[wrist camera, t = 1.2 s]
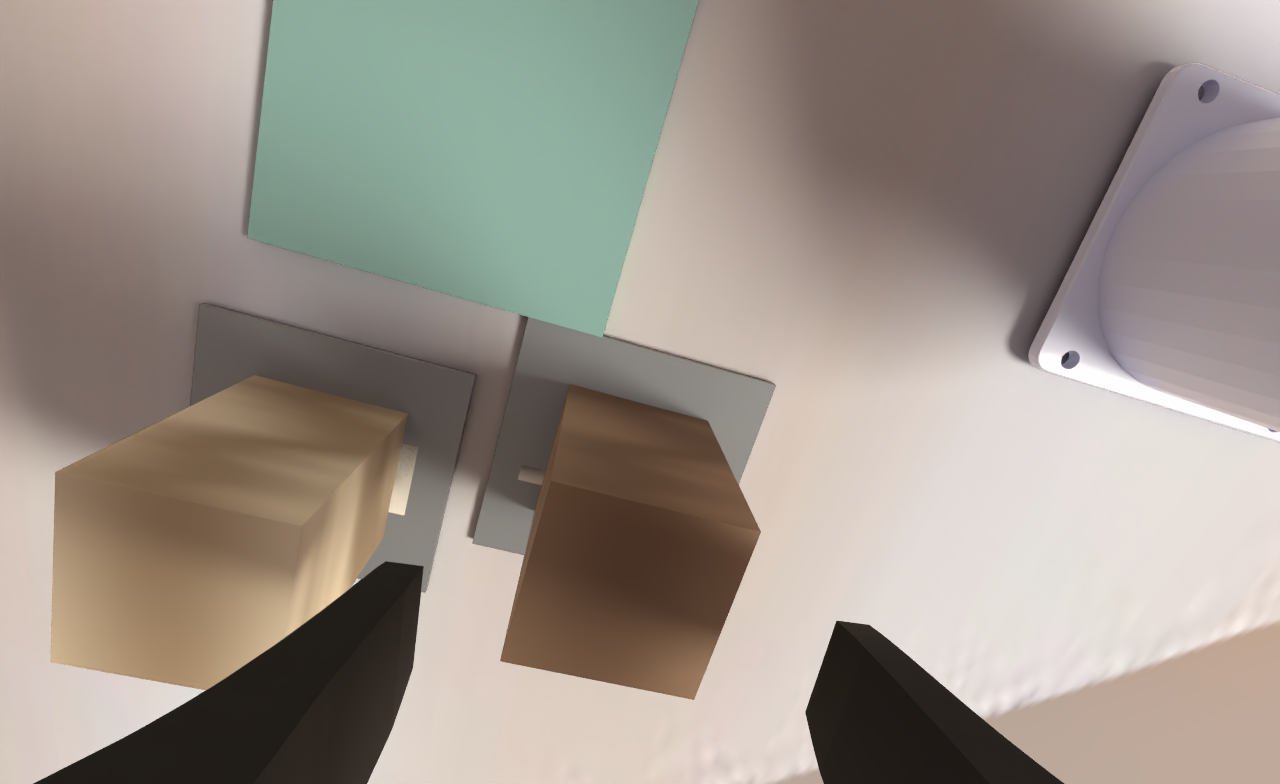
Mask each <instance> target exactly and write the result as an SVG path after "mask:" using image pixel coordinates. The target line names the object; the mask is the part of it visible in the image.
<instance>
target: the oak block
mask: <svg viewBox="0 0 1280 784" xmlns="http://www.w3.org/2000/svg"><path fill="white" fill-rule="evenodd" d="M407 416H408V413H404V412H400V411H396V410H392V409H388V408H384V407H380V406H376V405H372V404H368V403H364V402H360V401H356V400H352V399H348V398H344V397H340V396H336V395H332V394H328V393H324V392H320V391H316V390H312V389H308V388H304V387H300V386H296V385H293V384H289V383H285V382H281V381H277V380H273V379H269V378H265V377H261V376H257V375H254V376H251V377H249V378H247V379H245V380H243V381H241V382H239V383H237V384H235V385H233V386H231V387H229V388H227V389H225V390H223V391H221V392H219V393H217V394H215V395H213V396H210V397H208V398H206V399H204V400H202V401H200V402H198V403H196V404H194V405H192V406H190V407H188V408H186V409H184V410H182V411H180V412H178V413H176V414H174V415H172V416H169V417H167V418H165V419H163V420H161V421H159V422H157V423H155V424H153V425H151V426H149V427H147V428H145V429H143V430H141V431H139V432H137V433H135V434H133V435H131V436H128V437H126V438H124V439H122V440H120V441H118V442H116V443H114V444H112V445H110V446H108V447H106V448H104V449H102V450H100V451H98V452H96V453H94V454H92V455H90V456H87V457H85V458H83V459H81V460H79V461H77V462H75V463H73V464H71V465H69V466H67V467H65V468H63V469H61V470H59V471H57V472H55V509H54V548H53V587H52V627H51V662H53V663H58V664H64V665H69V666H75V667H80V668H86V669H91V670H97V671H102V672H108V673H114V674H119V675H125V676H130V677H136V678H141V679H147V680H152V681H158V682H163V683H169V684H175V685H180V686H186V687H191V688H197V689H202V690H207V689H209V688H211V687H212V686H214V685H215V684H217V683H218V682H220V681H222V680H223V679H225V678H226V677H228V676H229V675H231V674H232V673H234V672H235V671H237V670H238V669H240V668H241V667H243V666H244V665H246V664H247V663H248V662H250V661H251V660H253V659H254V658H256V657H257V656H259V655H260V654H262V653H263V652H265V651H266V650H268V649H269V648H271V647H272V646H274V645H275V644H277V643H278V642H279V641H281V640H282V639H284V638H285V637H286V636H288V635H289V634H290V633H292V632H293V631H294V630H296V629H297V628H299V627H300V626H301V625H303V624H304V623H305V622H307V621H308V620H309V619H311V618H312V617H313V616H315V615H316V614H318V613H319V612H320V611H322V610H323V609H324V608H325V607H327V606H328V605H329V604H331V603H332V602H333V601H335V600H336V599H337V598H338V597H340V596H341V595H342V594H344V593H345V592H346V591H347V590H349V589H350V588H351V586H352V585H353V583H354V582H355V580H356V579H357V577H358V576H359V574H360V573H361V571H362V570H363V568H364V567H365V565H366V564H367V562H368V561H369V559H370V558H371V556H372V555H373V553H374V552H375V550H376V549H377V547H378V546H379V544H380V543H381V541H382V540H383V536H384V531H385V526H386V521H387V516H388V511H389V506H390V501H391V496H392V491H393V486H394V481H395V476H396V471H397V466H398V461H399V456H400V451H401V446H402V441H403V436H404V431H405V426H406V421H407Z"/></svg>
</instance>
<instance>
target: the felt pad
mask: <svg viewBox="0 0 1280 784" xmlns="http://www.w3.org/2000/svg"><path fill="white" fill-rule="evenodd" d="M698 1H699V0H273V7H272V16H271V25H270V34H269V43H268V53H267V62H266V71H265V80H264V89H263V98H262V107H261V116H260V125H259V134H258V143H257V152H256V161H255V170H254V179H253V189H252V198H251V207H250V216H249V225H248V234H247V238H249V239H252V240H256V241H259V242H263V243H266V244H270V245H274V246H277V247H281V248H284V249H288V250H291V251H295V252H299V253H302V254H306V255H309V256H313V257H316V258H320V259H324V260H327V261H331V262H334V263H338V264H341V265H345V266H348V267H352V268H356V269H359V270H363V271H366V272H370V273H373V274H377V275H381V276H384V277H388V278H391V279H395V280H398V281H402V282H406V283H409V284H413V285H416V286H420V287H423V288H427V289H431V290H434V291H438V292H441V293H445V294H448V295H452V296H456V297H459V298H463V299H466V300H470V301H473V302H477V303H480V304H484V305H488V306H491V307H495V308H498V309H502V310H505V311H509V312H513V313H516V314H520V315H523V316H527V317H530V318H534V319H538V320H541V321H545V322H548V323H552V324H555V325H559V326H563V327H566V328H570V329H573V330H577V331H580V332H584V333H588V334H591V335H595V336H598V337H603V334H604V330H605V327H606V323H607V320H608V316H609V313H610V309H611V306H612V302H613V299H614V295H615V292H616V288H617V285H618V281H619V278H620V274H621V271H622V267H623V264H624V260H625V257H626V253H627V250H628V246H629V243H630V239H631V236H632V232H633V229H634V225H635V222H636V218H637V215H638V211H639V208H640V204H641V201H642V197H643V194H644V190H645V187H646V183H647V180H648V176H649V173H650V169H651V166H652V162H653V159H654V155H655V152H656V148H657V145H658V141H659V138H660V134H661V131H662V127H663V124H664V120H665V117H666V113H667V110H668V106H669V103H670V99H671V96H672V92H673V89H674V85H675V82H676V78H677V75H678V71H679V68H680V64H681V61H682V57H683V54H684V50H685V47H686V43H687V40H688V36H689V33H690V29H691V26H692V22H693V19H694V15H695V12H696V8H697V5H698Z"/></svg>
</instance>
